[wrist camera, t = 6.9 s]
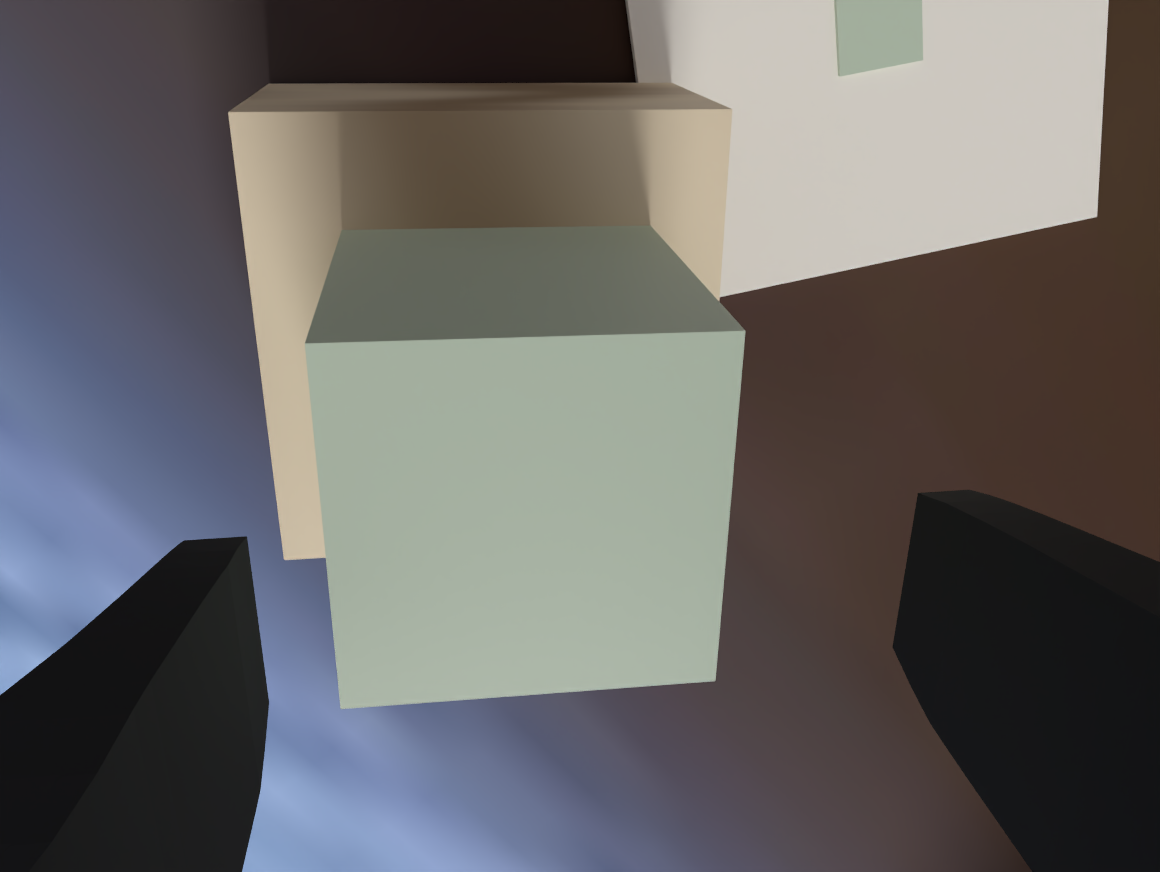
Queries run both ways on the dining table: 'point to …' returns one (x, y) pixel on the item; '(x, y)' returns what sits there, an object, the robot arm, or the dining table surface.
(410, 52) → the dining table surface
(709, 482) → the sage cube
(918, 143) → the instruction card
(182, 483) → the dining table surface
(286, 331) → the beech base
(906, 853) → the dining table surface
